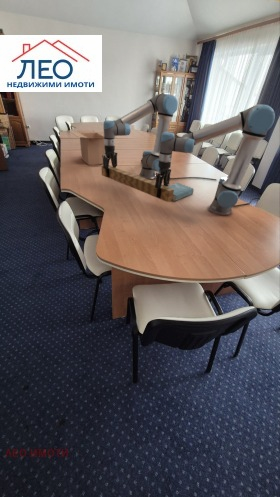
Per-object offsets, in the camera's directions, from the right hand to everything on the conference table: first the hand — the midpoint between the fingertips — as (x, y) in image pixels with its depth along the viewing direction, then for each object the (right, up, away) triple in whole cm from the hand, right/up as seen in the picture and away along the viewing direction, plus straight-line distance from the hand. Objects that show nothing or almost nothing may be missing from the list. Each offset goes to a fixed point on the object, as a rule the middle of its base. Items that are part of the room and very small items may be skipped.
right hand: (161, 196), depth 149 cm
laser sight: (-2, +55, +90) cm, 105 cm away
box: (-64, +58, +88) cm, 124 cm away
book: (+15, +8, +27) cm, 32 cm away
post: (-19, +11, +14) cm, 26 cm away
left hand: (-38, +22, +27) cm, 51 cm away
